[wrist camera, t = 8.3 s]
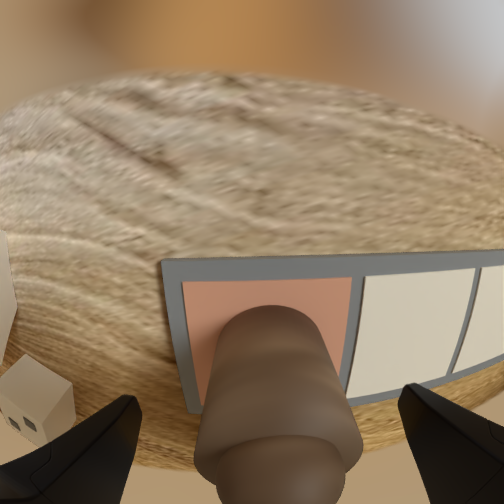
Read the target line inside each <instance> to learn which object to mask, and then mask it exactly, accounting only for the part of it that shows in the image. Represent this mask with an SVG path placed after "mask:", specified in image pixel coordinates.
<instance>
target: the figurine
mask: <svg viewBox="0 0 504 504" xmlns="http://www.w3.org/2000/svg"><path fill="white" fill-rule="evenodd" d="M17 308H18V306H17V301H16V296H15V292H14V286H13V281H12V275H11V269H10V262H9V254H8V245H7V234H6V232H5V231H2V230H0V366H2V361H3V357H4V353H5V348H6V344H7V341H8V337H9V333H10V330H11V326H12V323H13V320H14V317H15V314H16V311H17Z"/></svg>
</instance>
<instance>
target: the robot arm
mask: <svg viewBox="0 0 504 504" xmlns="http://www.w3.org/2000/svg"><path fill="white" fill-rule="evenodd" d="M398 409H399V413H400V416H401V420H402V423H403V427H404V430H405V434H406V438H407V441H408V443H409V446H410V449H411V451H412V453H413V456H414V459H415V461H416V464H417V467H418V469H419V472H420V475H421V477H422V480H423V483H424V486H425V488H426V492H427V495H428V498H429V501H430V504H504V427H503V426H501V425H498V424H496V423H494V422H492V421H490V420H487V419H486V418H484V417H482V416H480V415H478V414H476V413H474V412H472V411H470V410H468V409H466V408H464V407H462V406H460V405H458V404H456V403H454V402H452V401H450V400H448V399H446V398H444V397H442V396H440V395H438V394H436V393H434V392H432V391H431V390H429V389H427V388H425V387H423V386H421V385H419V384H417V383H410V384H406V385H405V386H404V387H403V389H402V392H401V394H400V397H399V400H398ZM141 421H142V411H141V409H140V406H139V403H138V401H137V398H136V397H135V396H133V395H127V394H124V395H122V396H120V397H119V398H117V399H116V400H114V401H113V402H111V403H110V404H108V405H107V406H105V407H104V408H102V409H101V410H99V411H98V412H96V413H95V414H93V415H92V416H90V417H89V418H87V419H86V420H84V421H82V422H81V423H79V424H78V425H76V426H75V427H73V428H71V429H70V430H68V431H67V432H65V433H63V434H62V435H60V436H59V437H57V438H55V439H54V440H52V442H49V443H47V444H45V445H44V446H42V447H40V448H38V449H36V450H35V451H33V452H31V453H29V454H26V455H24V456H22V457H20V458H17V459H15V460H13V461H10V462H8V463H5V464H3V465H0V504H120V501H121V497H122V494H123V491H124V487H125V484H126V481H127V478H128V474H129V471H130V468H131V465H132V462H133V459H134V455H135V451H136V446H137V441H138V436H139V431H140V426H141Z"/></svg>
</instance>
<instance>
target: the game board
mask: <svg viewBox="0 0 504 504" xmlns="http://www.w3.org/2000/svg"><path fill="white" fill-rule="evenodd" d="M161 267H162V276H163V284H164V291H165V298H166V305H167V312H168V318H169V324H170V330H171V336H172V341H173V347H174V352H175V357H176V362H177V367H178V372H179V377H180V381H181V386H182V390H183V394H184V398H185V403H186V407H187V411H188V413H190V414H202V412H203V407H204V402H205V397H206V392H207V387H208V383H209V378H210V373H211V368H212V364H213V359H214V354H215V349H216V345H217V341H218V337H219V335H220V333H221V331H222V329H223V328H224V326H225V325H226V324H227V323H228V322H229V321H230V320H231V319H232V318H234V317H235V316H236V315H238V314H240V313H241V312H243V311H246V310H248V309H251V308H254V307H258V306H264V305H280V306H286V307H290V308H293V309H296V310H298V311H300V312H302V313H304V314H305V315H307V316H308V317H309V318H310V319H311V320H312V321H313V322H314V323H315V324H316V326H317V327H318V329H319V331H320V333H321V335H322V338H323V340H324V343H325V345H326V348H327V350H328V352H329V355H330V357H331V360H332V362H333V365H334V367H335V370H336V372H337V375H338V377H339V380H340V382H341V385H342V387H343V390H344V392H345V395H346V398H347V400H348V403H349V405H350V407H352V406H358V405H364V404H369V403H374V402H379V401H384V400H388V399H392V398H397V397H400V394H401V392H402V389H403V387H404V386H405V385H406V384H410V383H417V384H419V385H421V386H423V387H425V388H427V389H430V388H433V387H436V386H439V385H442V384H445V383H448V382H451V381H454V380H457V379H460V378H462V377H465V376H468V375H470V374H473V373H475V372H478V371H480V370H482V369H485V368H487V367H489V366H492V365H494V364H496V363H498V362H500V361H503V360H504V249H491V250H463V251H434V252H403V253H370V254H335V255H299V256H259V257H217V258H171V259H163V260H162V261H161Z"/></svg>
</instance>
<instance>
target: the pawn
mask: <svg viewBox="0 0 504 504" xmlns="http://www.w3.org/2000/svg"><path fill="white" fill-rule="evenodd" d="M362 452H363V440H362V437H361V434H360V432H359V429H358V426H357V424H356V421H355V418H354V416H353V413H352V411H351V408H350V405H349V403H348V400H347V398H346V395H345V392H344V390H343V387H342V385H341V382H340V380H339V377H338V375H337V372H336V370H335V367H334V365H333V362H332V360H331V357H330V355H329V352H328V350H327V348H326V345H325V343H324V340H323V338H322V335H321V333H320V331H319V329H318V327H317V326H316V324H315V323H314V322H313V321H312V320H311V319H310V318H309V317H308V316H307V315H305V314H304V313H302V312H300V311H298V310H296V309H293V308H290V307H286V306H280V305H264V306H258V307H254V308H251V309H248V310H246V311H243V312H241V313H240V314H238V315H236V316H235V317H234V318H232V319H231V320H230V321H229V322H228V323H227V324H226V325H225V326H224V328H223V329H222V331H221V333H220V335H219V337H218V341H217V345H216V349H215V354H214V359H213V364H212V368H211V373H210V378H209V383H208V387H207V392H206V397H205V402H204V407H203V412H202V417H201V422H200V426H199V431H198V437H197V442H196V447H195V452H194V464H195V467H196V469H197V471H198V472H199V473H200V474H201V475H202V476H203V477H204V478H205V479H206V480H208V481H209V482H211V483H212V484H214V485H216V489H217V493H218V495H219V498H220V500H221V502H222V504H336V503H337V501H338V499H339V498H340V496H341V493H342V491H343V488H344V484H345V473H347V472H348V471H349V470H350V469H351V468H352V467H353V466H354V465H355V464H356V463H357V462H358V460H359V458H360V457H361V455H362Z"/></svg>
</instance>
